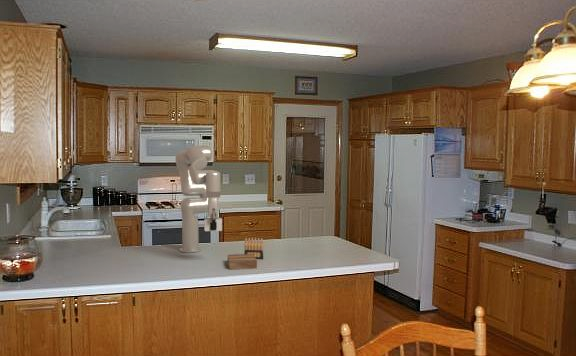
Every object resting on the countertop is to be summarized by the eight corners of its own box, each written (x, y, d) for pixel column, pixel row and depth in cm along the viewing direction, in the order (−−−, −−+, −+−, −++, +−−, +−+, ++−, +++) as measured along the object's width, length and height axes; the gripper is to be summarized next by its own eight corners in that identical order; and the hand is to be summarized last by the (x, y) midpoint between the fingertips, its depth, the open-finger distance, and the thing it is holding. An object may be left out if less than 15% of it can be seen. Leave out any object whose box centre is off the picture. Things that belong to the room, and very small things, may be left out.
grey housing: (204, 229, 270) (204, 216, 270) (221, 229, 272) (221, 216, 272) (204, 231, 266) (204, 218, 265) (222, 230, 267) (222, 218, 267)
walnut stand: (227, 262, 276) (227, 254, 275) (253, 261, 278) (253, 254, 278) (229, 269, 260) (229, 261, 260) (256, 268, 262) (256, 260, 262)
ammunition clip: (244, 258, 284) (244, 237, 283) (244, 258, 286) (244, 237, 285) (263, 259, 283) (263, 238, 282) (263, 258, 285) (263, 237, 284)
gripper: (205, 193, 275) (205, 226, 276) (206, 196, 258) (206, 232, 260) (219, 193, 277) (219, 226, 278) (221, 196, 260) (221, 231, 261)
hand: (213, 228), depth 269 cm, fingers closed on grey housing, 5 cm apart
